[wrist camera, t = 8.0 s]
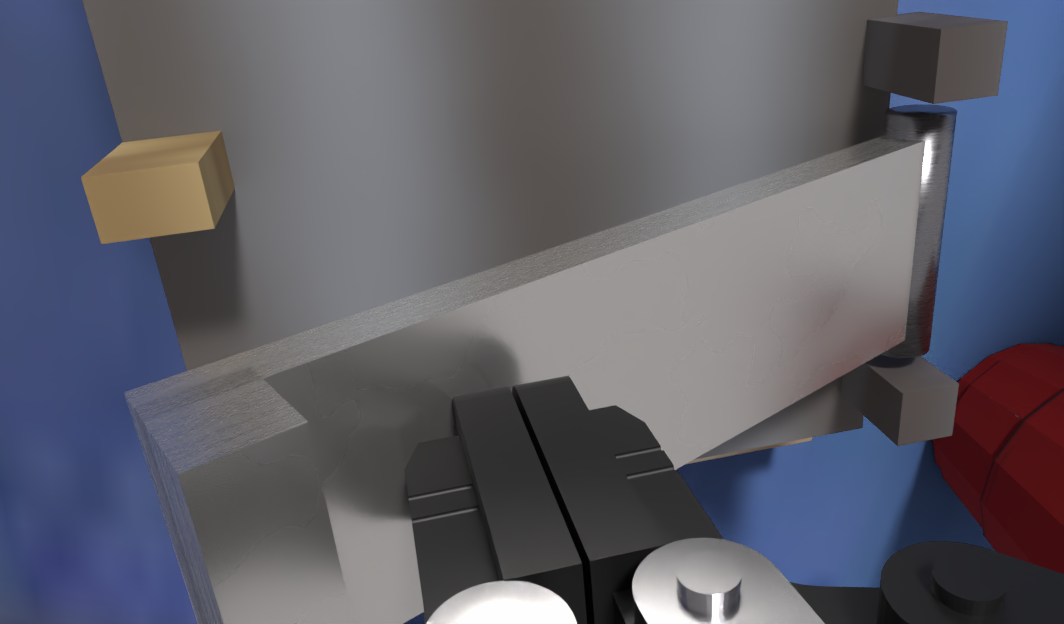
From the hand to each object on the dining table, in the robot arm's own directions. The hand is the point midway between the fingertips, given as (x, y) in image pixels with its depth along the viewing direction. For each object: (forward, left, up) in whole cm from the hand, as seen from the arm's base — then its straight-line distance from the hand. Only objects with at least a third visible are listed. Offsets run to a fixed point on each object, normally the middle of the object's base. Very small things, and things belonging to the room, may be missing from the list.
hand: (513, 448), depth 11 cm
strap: (-2, 0, -3) cm, 3 cm away
